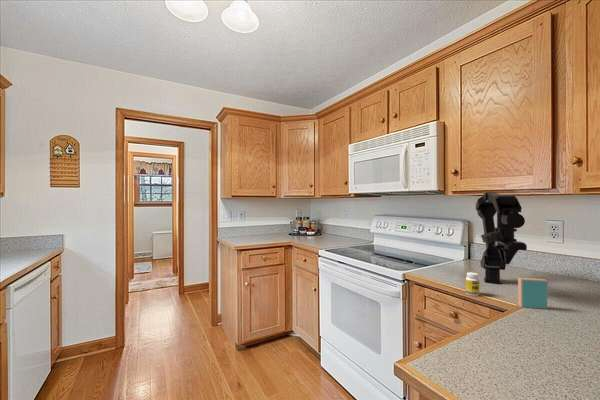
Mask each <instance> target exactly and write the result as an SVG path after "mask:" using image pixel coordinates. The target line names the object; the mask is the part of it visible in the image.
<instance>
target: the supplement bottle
mask: <svg viewBox="0 0 600 400" xmlns="http://www.w3.org/2000/svg"><path fill="white" fill-rule="evenodd" d="M465 293H466V295H468V296H472V297H473V296H474V297H478V296H479V295H480V278H479V274H478V273H476V272H470V271H469V272H466V277H465Z"/></svg>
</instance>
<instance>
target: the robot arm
mask: <svg viewBox="0 0 600 400" xmlns="http://www.w3.org/2000/svg"><path fill="white" fill-rule="evenodd" d="M475 210H476V211H477V212H476V213H477V216H478V217H480V218H481V220H482V226H483V227H482V228H483V233H484V234H481V235H480V238H481V239H482V240H481V241H482V242H483V243H484V244H485V249H484V251H483V253H482V257H481V259H480V264H479V265H480V267H481V268H482V269H483V270H484V277H483V281H484V283H491V284H497V285H502V284H503V282H502V281H501V270H503V271H506V270H505V269H506V267H507V266H506V265H510V264H511V262H512V260H513V258H514V257H515V255H516V254H517V253H518V251H527V250H528V245H527V244H526V243H525V242H523V241H518V239H517V238H515V232H517V231H518V230H517V229H519V228H522V227H523V226H524V225H525V223H526V221H525V217H524V215H522V214H520V213H522V205H521V203H520V201H519V199H518V197H516V196H515V195H507V194H506V195H503V194H500V193H497V192H496V191H495V192H494V191H493V192H492V191H491V192H484V193H483V195H482V196H481V197H479V198H478V199H477V200H476V203H475ZM495 215H496V225H495V219H494V217H495Z"/></svg>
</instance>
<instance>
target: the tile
mask: <svg viewBox="0 0 600 400" xmlns="http://www.w3.org/2000/svg"><path fill="white" fill-rule="evenodd" d="M517 305H518V307H521V308H525V309H526V308H527V309H529V308H531V309H541V310H542V309H543V310H548V279H545V278H533V277H530V278H529V277H518V278H517Z"/></svg>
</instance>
